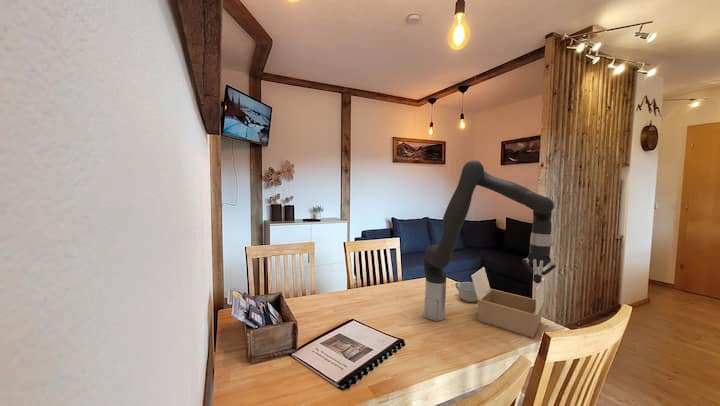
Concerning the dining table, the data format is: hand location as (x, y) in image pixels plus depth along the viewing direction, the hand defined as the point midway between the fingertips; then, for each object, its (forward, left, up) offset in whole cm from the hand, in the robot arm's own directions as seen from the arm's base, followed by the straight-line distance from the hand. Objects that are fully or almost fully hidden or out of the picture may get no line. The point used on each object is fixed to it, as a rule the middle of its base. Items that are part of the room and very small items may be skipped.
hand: (537, 282), depth 126 cm
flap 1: (-2, +22, -5) cm, 23 cm away
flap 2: (-2, -1, -5) cm, 5 cm away
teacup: (+10, +33, -20) cm, 40 cm away
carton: (-2, +9, -20) cm, 22 cm away
